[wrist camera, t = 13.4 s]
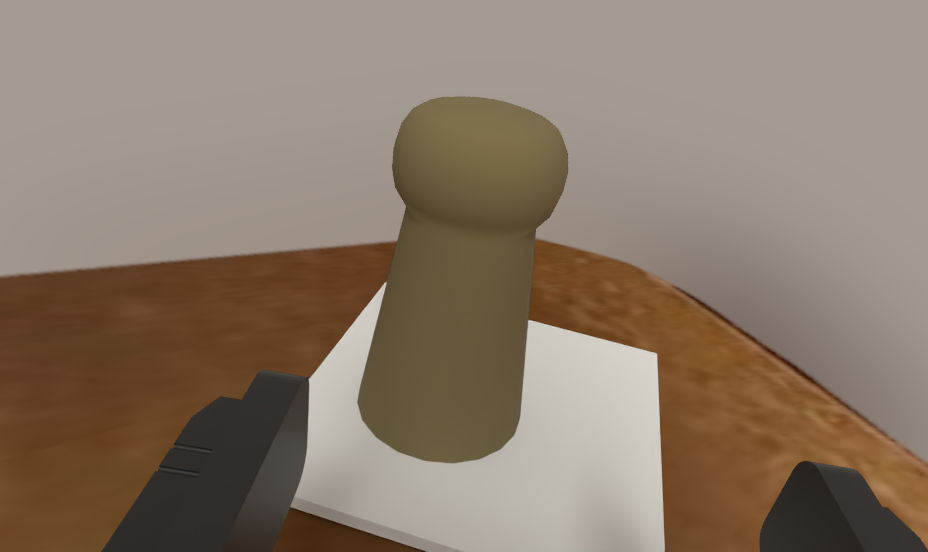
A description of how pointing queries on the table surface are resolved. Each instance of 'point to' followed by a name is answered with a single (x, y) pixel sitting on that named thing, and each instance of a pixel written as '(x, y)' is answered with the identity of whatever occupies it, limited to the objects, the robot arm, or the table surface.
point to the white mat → (501, 456)
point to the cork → (460, 277)
